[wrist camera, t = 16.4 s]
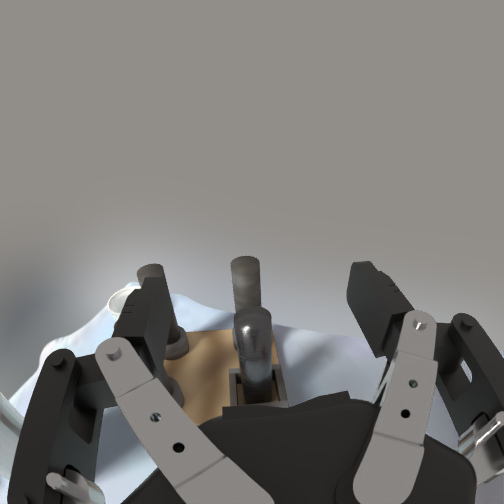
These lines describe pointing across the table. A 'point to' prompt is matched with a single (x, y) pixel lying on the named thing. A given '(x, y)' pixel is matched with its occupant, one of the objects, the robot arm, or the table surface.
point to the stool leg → (254, 353)
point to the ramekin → (119, 301)
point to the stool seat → (213, 354)
